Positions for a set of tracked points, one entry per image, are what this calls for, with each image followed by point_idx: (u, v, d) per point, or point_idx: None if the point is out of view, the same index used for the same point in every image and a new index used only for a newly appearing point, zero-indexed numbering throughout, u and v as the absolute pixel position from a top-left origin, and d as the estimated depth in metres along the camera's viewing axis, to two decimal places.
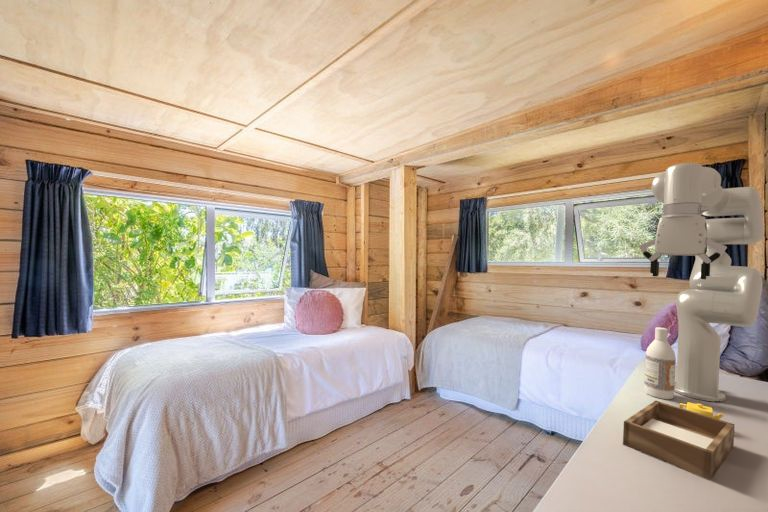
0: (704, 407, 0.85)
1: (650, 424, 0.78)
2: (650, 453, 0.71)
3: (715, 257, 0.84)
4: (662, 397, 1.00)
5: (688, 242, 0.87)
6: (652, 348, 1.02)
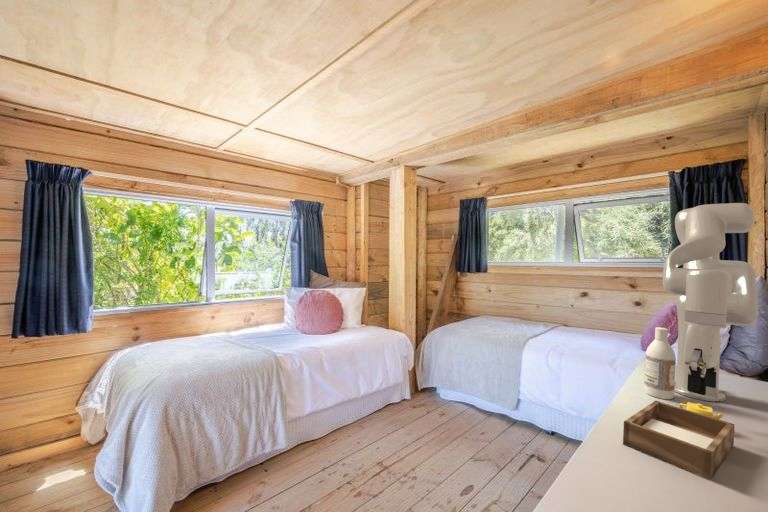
0: (704, 407, 0.85)
1: (650, 424, 0.78)
2: (650, 453, 0.71)
3: None
4: (662, 397, 1.00)
5: (718, 353, 0.84)
6: (652, 348, 1.02)
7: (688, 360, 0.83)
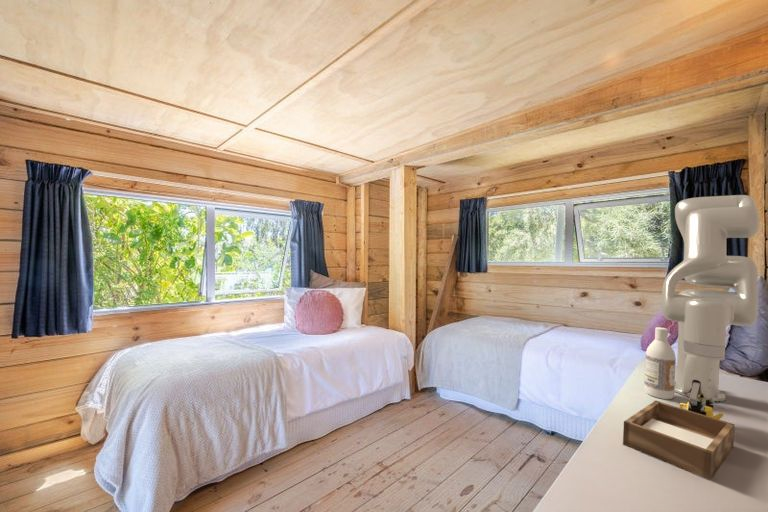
0: None
1: (650, 424, 0.78)
2: (650, 453, 0.71)
3: None
4: (662, 397, 1.00)
5: (716, 383, 0.84)
6: (652, 348, 1.02)
7: (687, 391, 0.83)
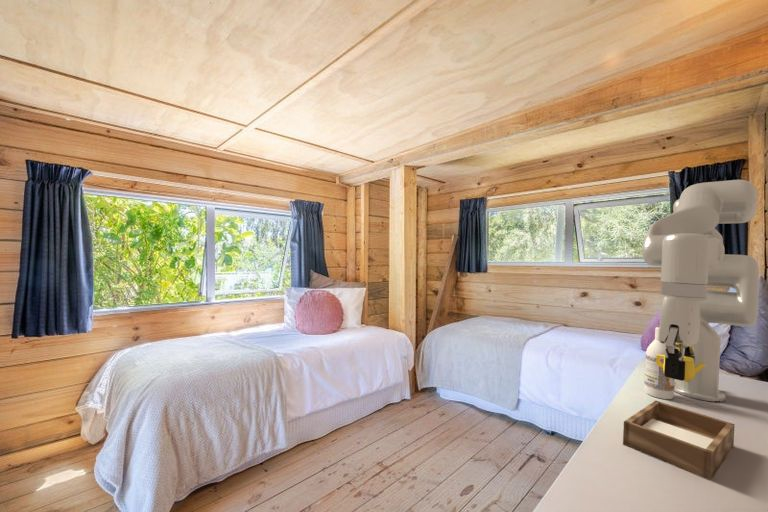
0: (684, 357, 0.73)
1: (650, 424, 0.78)
2: (650, 453, 0.71)
3: None
4: (662, 397, 1.00)
5: (698, 330, 0.73)
6: (652, 348, 1.02)
7: (663, 338, 0.72)
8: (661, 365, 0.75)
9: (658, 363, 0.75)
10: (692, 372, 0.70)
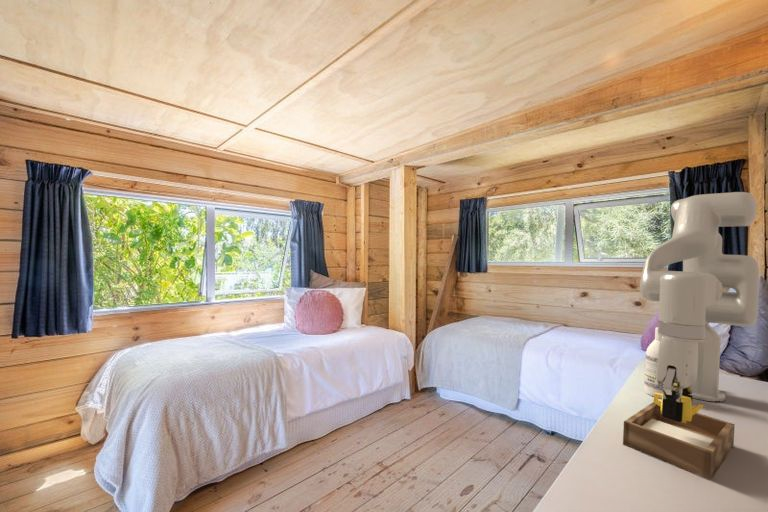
0: (682, 397, 0.73)
1: (650, 424, 0.78)
2: (650, 453, 0.71)
3: None
4: None
5: (695, 370, 0.73)
6: (652, 348, 1.02)
7: (661, 379, 0.72)
8: (659, 404, 0.75)
9: (656, 402, 0.75)
10: (690, 413, 0.70)
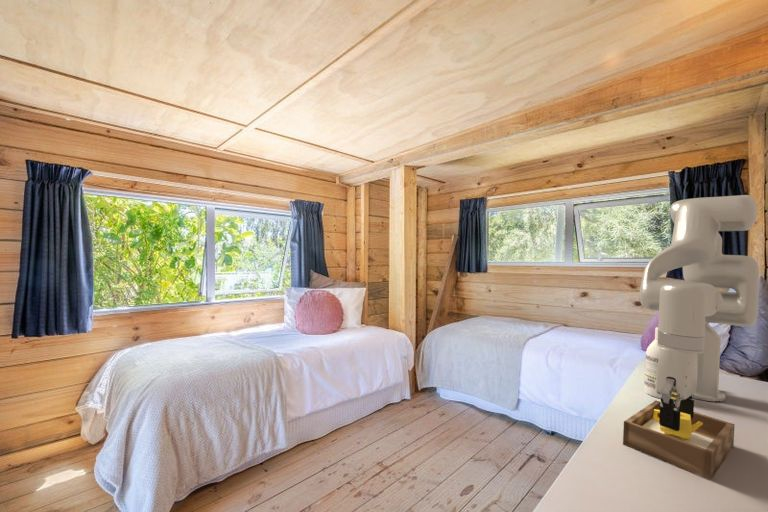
0: (681, 414, 0.73)
1: (650, 424, 0.78)
2: (650, 453, 0.71)
3: None
4: None
5: (695, 381, 0.73)
6: (652, 348, 1.02)
7: (660, 390, 0.72)
8: (658, 420, 0.75)
9: (655, 418, 0.76)
10: (689, 431, 0.71)
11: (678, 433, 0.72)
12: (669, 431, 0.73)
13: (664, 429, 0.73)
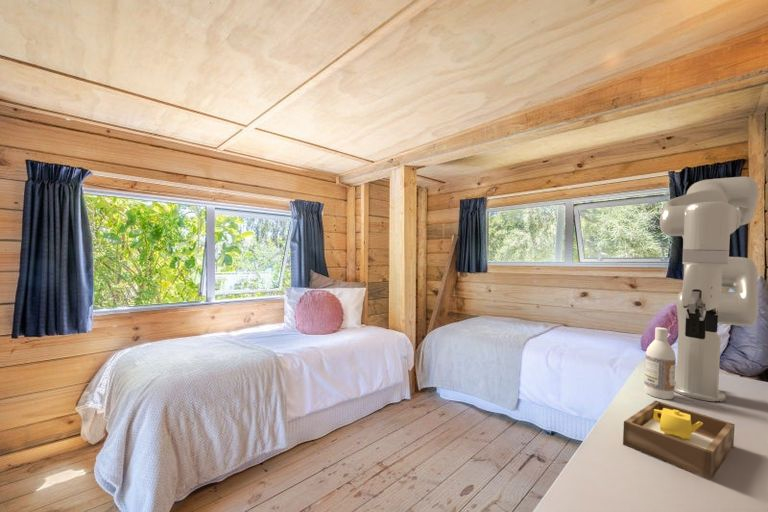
0: (681, 414, 0.73)
1: (650, 424, 0.78)
2: (650, 453, 0.71)
3: None
4: (662, 397, 1.00)
5: (719, 294, 0.76)
6: (652, 348, 1.02)
7: (686, 303, 0.75)
8: (658, 420, 0.75)
9: (655, 418, 0.76)
10: (689, 431, 0.71)
11: (678, 433, 0.72)
12: (669, 431, 0.73)
13: (664, 429, 0.73)
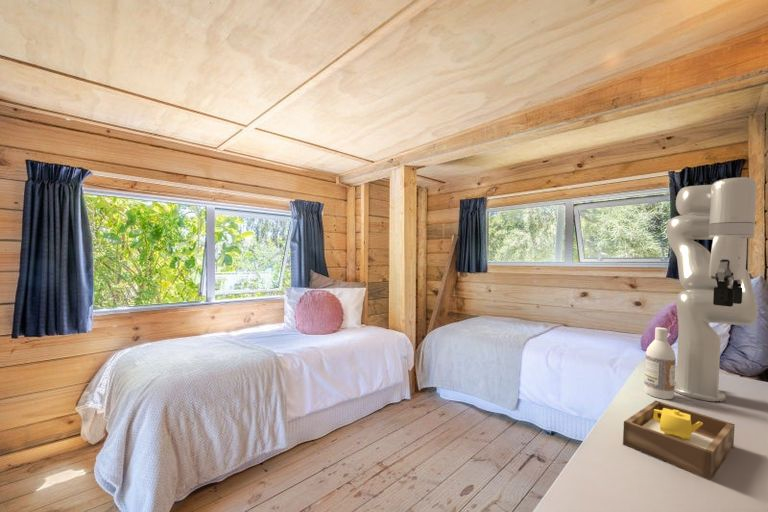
0: (681, 414, 0.73)
1: (650, 424, 0.78)
2: (650, 453, 0.71)
3: None
4: (662, 397, 1.00)
5: (745, 266, 0.80)
6: (652, 348, 1.02)
7: (714, 273, 0.79)
8: (658, 420, 0.75)
9: (655, 418, 0.76)
10: (689, 431, 0.71)
11: (678, 433, 0.72)
12: (669, 431, 0.73)
13: (664, 429, 0.73)
